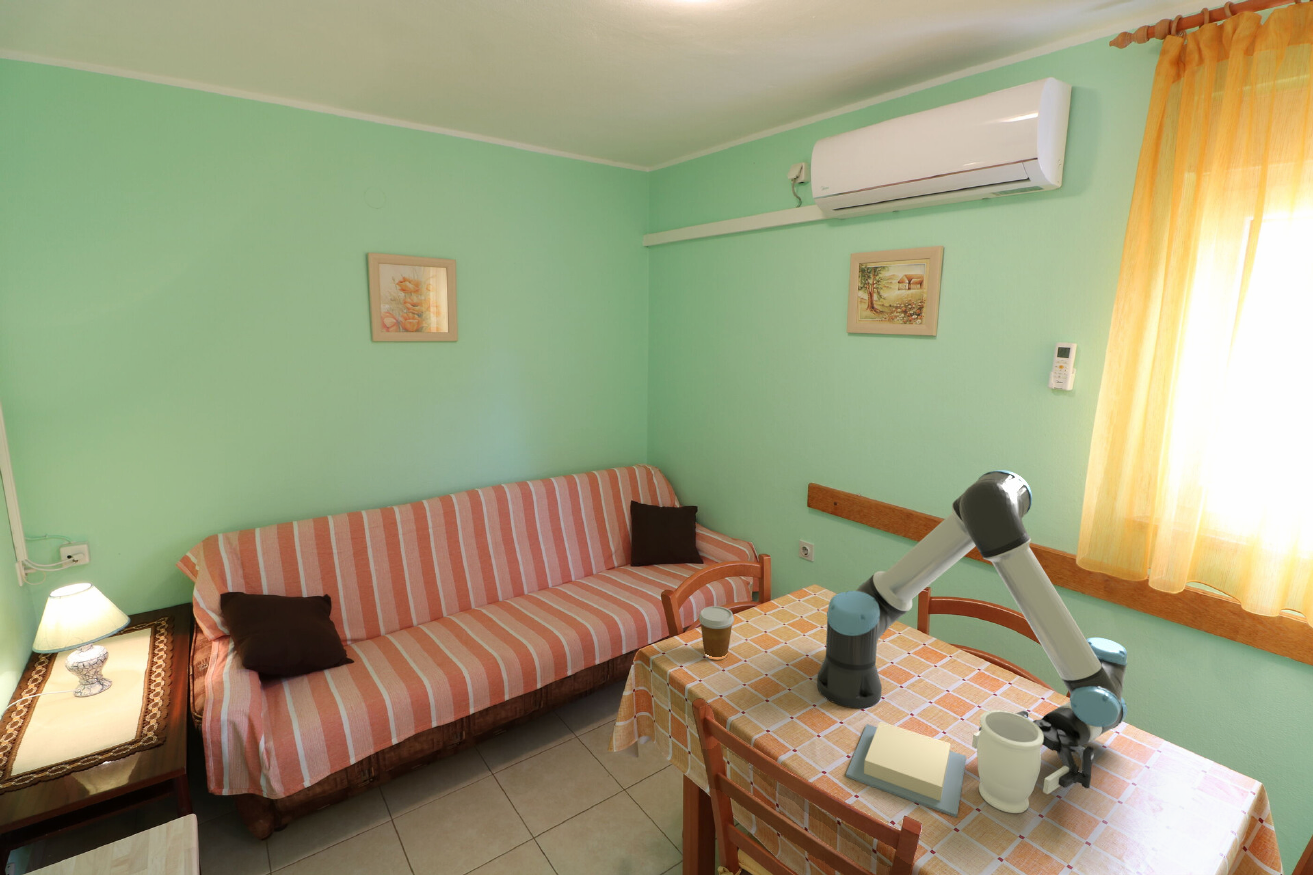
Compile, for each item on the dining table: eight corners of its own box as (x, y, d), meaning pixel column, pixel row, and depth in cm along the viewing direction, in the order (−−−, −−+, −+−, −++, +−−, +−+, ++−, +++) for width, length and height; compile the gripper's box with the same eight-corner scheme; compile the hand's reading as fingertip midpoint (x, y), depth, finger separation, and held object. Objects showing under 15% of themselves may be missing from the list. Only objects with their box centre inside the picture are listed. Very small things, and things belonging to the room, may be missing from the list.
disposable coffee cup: (692, 657, 166) (692, 616, 163) (708, 642, 174) (708, 602, 171) (724, 667, 161) (724, 625, 158) (739, 651, 169) (740, 610, 166)
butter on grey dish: (845, 776, 122) (846, 760, 122) (866, 726, 137) (867, 711, 137) (956, 817, 112) (958, 800, 111) (966, 758, 127) (967, 742, 127)
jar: (1034, 827, 110) (1044, 753, 107) (969, 804, 115) (977, 732, 112) (1035, 789, 119) (1044, 720, 116) (975, 769, 124) (982, 702, 121)
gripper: (1139, 781, 115) (1077, 827, 105) (1008, 709, 136) (946, 741, 126) (1145, 746, 114) (1083, 788, 103) (1012, 678, 135) (950, 708, 125)
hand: (1008, 762), depth 115 cm, fingers open, 13 cm apart
